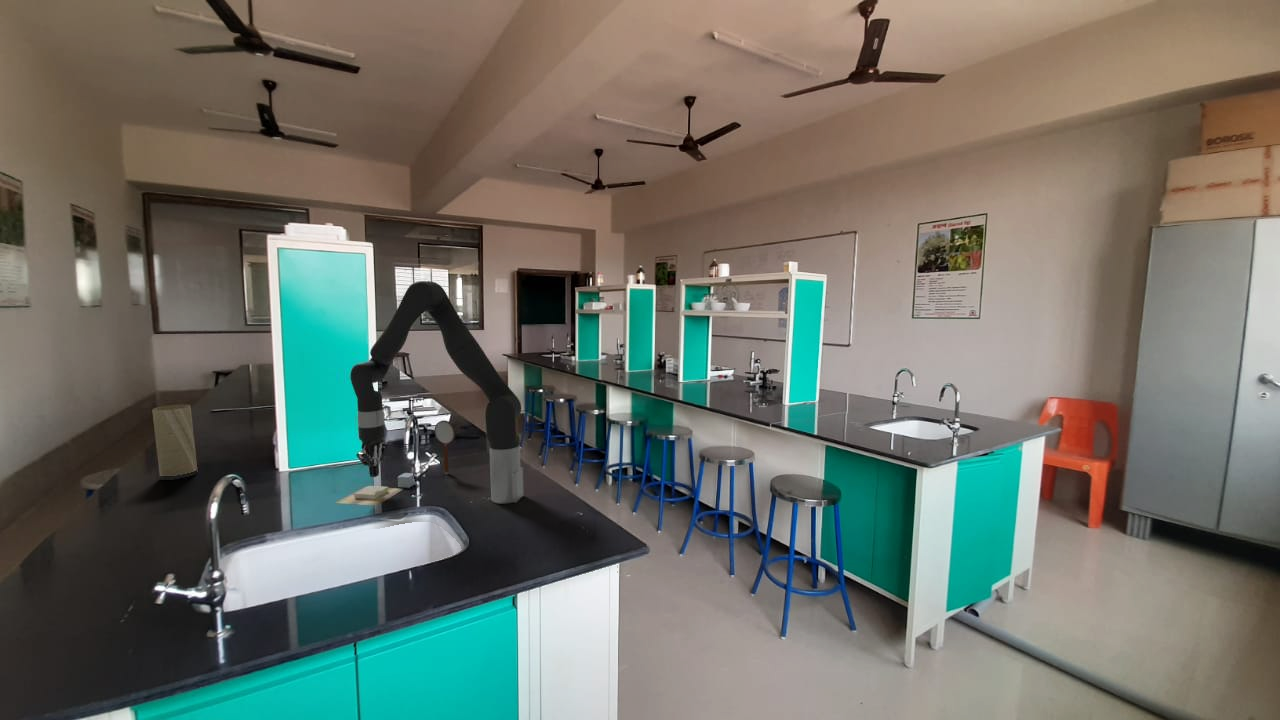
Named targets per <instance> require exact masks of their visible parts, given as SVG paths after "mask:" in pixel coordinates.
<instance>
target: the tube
mask: <svg viewBox="0 0 1280 720" xmlns="http://www.w3.org/2000/svg"><path fill="white" fill-rule="evenodd" d="M151 411H152V420H153V427H154V428H153V429H154V438H155V445H156V446H155V448H156V455H157V461H158V463H157V464H158V470H159V471H158V472H159V477H160V476H177V475H183V474H187V473H191V472H194V471H196V470H197V471H198V465H197V456H196V455H197V454H196V445H195V437H194V426H193V418H192V416H193V415H192V408H191V404H172V405H171V404H170V405H166V406H165V405H163V406H158V407H155V408H152V410H151Z"/></svg>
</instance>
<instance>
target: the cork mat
mask: <svg viewBox="0 0 1280 720" xmlns="http://www.w3.org/2000/svg"><path fill="white" fill-rule="evenodd" d="M365 487H366V486H364V487H362V488H360V489H359V490H356V491H355V492H353V493H351V494H349V495H347V496H346V497H344V498H342V499H340V500H338V501H336V502H335V504H341V505H342V504H343V505H359V506H372V507H373V506H375V507H377V506H379V505H380V504H382V503H384V502H385V501H387V500H388V499H390V498H392V497H393V496H395V495H397V494H399V492H401V491H403V490H404V488H395V487H394V488H393V487H388V488H389V491H388V492H387V493H385V494H383V495H381V496H380V497H378V498H376V499H375V500H374V499H358V498H354V493H356V492H358V491H360V490H362V489H364V488H365Z"/></svg>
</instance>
